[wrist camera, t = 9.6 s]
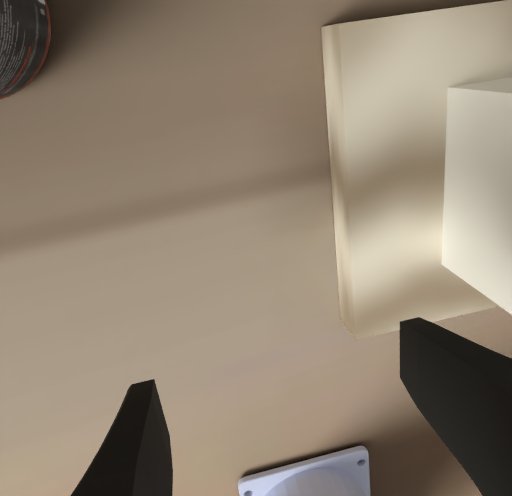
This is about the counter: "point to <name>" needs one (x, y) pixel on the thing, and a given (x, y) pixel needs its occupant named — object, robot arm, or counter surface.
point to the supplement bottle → (22, 42)
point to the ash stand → (401, 156)
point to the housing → (479, 188)
